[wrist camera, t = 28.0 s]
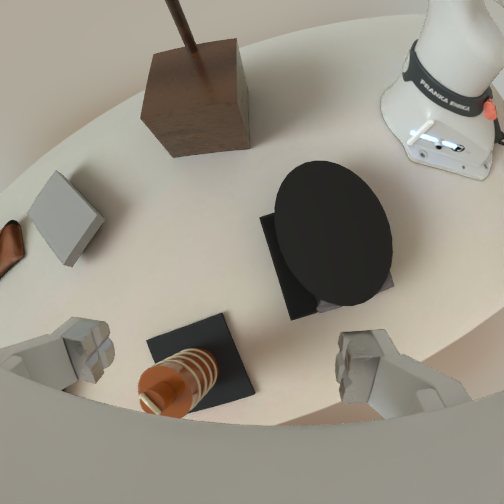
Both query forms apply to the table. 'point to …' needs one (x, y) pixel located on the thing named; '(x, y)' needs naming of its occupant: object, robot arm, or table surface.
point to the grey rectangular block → (64, 218)
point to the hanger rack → (197, 95)
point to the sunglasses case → (10, 246)
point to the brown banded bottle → (178, 382)
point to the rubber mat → (220, 346)
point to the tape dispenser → (328, 239)
